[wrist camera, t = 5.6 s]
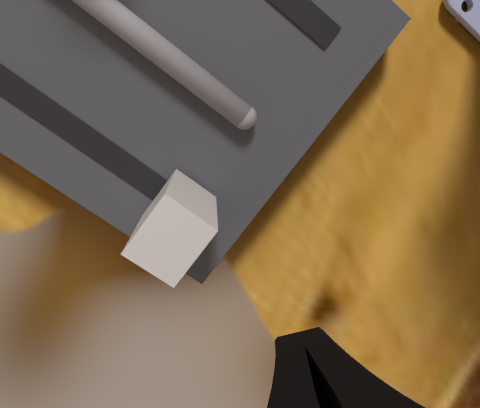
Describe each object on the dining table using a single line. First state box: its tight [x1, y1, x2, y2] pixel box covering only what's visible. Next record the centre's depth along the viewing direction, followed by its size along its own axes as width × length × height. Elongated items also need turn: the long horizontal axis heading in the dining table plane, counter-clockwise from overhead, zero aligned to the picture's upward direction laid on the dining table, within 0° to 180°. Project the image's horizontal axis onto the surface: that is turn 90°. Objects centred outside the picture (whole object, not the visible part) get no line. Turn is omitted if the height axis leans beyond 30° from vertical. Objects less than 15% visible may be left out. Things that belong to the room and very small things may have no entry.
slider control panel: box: [0, 0, 411, 284], centre depth 16 cm, size 20×14×3 cm
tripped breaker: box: [121, 169, 218, 288], centre depth 15 cm, size 2×2×4 cm
